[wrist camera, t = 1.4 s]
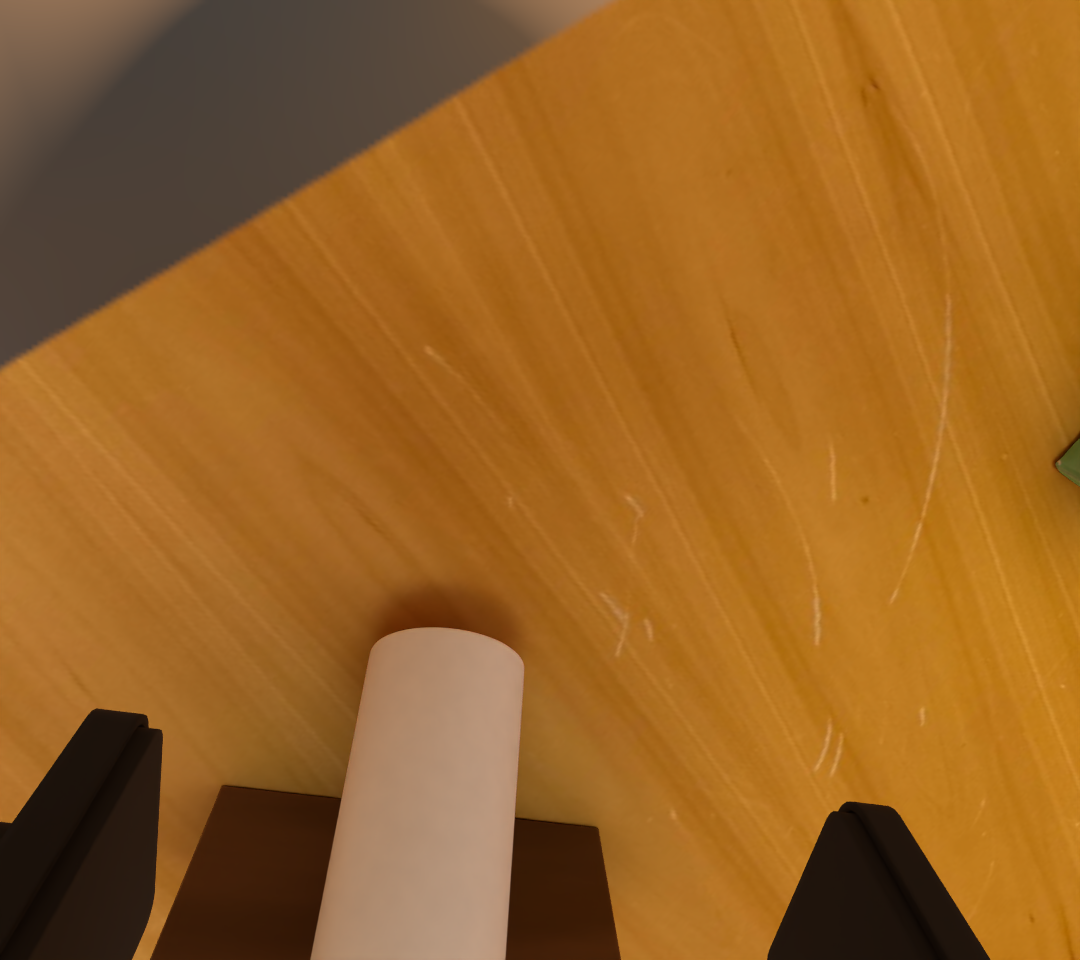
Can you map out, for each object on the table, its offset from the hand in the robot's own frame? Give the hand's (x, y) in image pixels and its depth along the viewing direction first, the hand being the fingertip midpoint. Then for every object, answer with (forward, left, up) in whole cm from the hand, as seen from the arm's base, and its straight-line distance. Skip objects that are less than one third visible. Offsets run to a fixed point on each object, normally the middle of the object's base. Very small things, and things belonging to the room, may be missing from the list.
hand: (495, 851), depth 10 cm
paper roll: (+10, 0, -10) cm, 14 cm away
